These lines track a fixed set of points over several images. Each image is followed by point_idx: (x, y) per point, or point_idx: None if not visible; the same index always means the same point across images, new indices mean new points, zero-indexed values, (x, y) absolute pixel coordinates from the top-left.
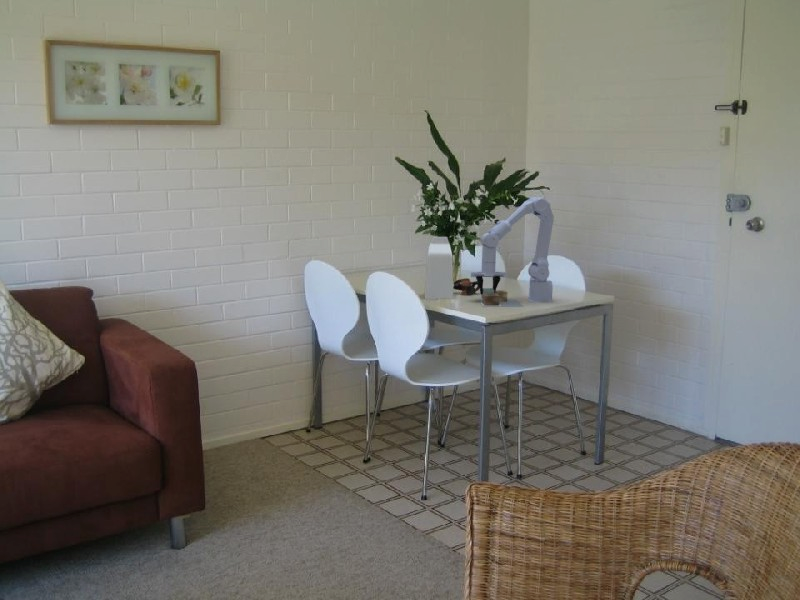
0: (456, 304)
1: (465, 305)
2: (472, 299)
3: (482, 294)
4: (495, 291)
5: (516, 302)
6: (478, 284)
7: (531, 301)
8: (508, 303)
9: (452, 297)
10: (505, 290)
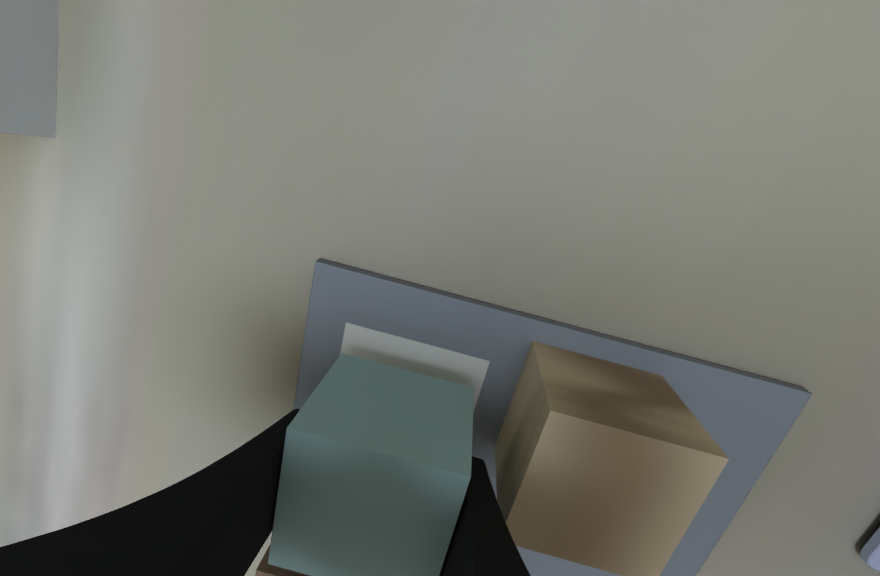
0: (66, 416)
1: (142, 478)
2: (294, 187)
3: (262, 560)
4: (530, 451)
5: (677, 546)
6: (175, 488)
7: (874, 568)
8: (559, 563)
9: (16, 130)
10: (723, 468)
